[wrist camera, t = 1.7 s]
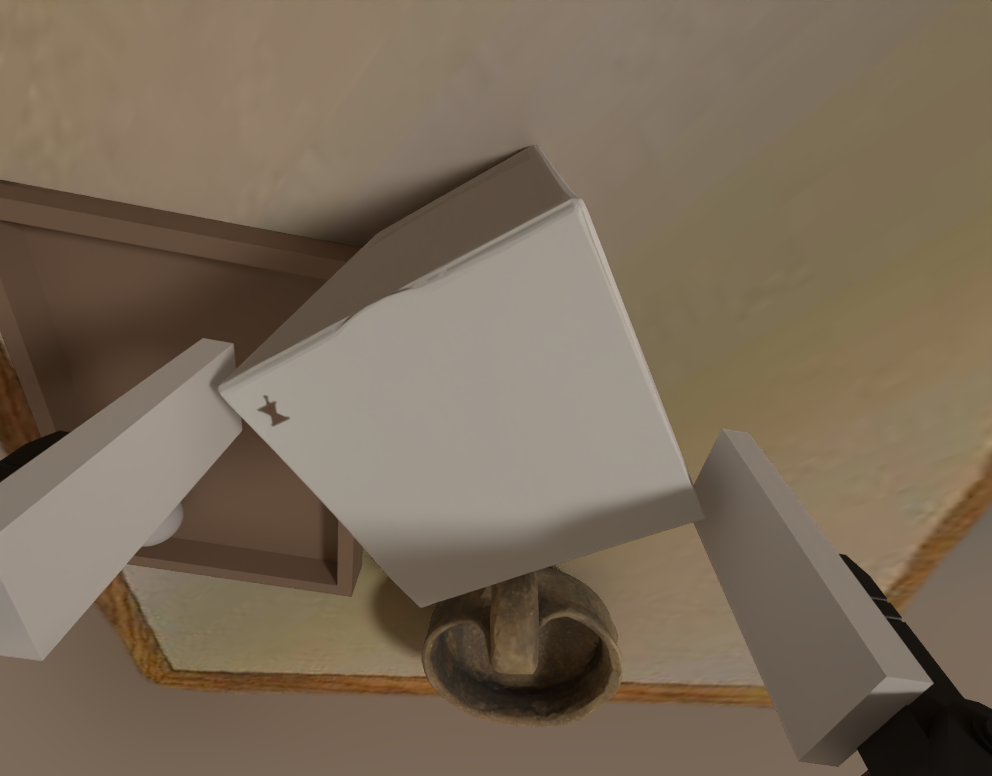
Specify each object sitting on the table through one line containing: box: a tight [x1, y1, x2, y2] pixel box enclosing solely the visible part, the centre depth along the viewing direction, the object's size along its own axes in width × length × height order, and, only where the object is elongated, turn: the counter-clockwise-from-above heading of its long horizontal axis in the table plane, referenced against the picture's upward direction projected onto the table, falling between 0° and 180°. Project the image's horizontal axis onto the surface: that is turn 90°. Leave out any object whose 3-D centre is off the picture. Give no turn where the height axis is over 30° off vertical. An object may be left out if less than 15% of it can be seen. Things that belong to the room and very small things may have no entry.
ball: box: [142, 502, 184, 547], centre depth 31 cm, size 4×4×4 cm
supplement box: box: [218, 145, 706, 608], centre depth 18 cm, size 9×9×15 cm
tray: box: [0, 180, 362, 597], centre depth 28 cm, size 24×18×2 cm
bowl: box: [422, 567, 622, 727], centre depth 32 cm, size 14×18×10 cm
